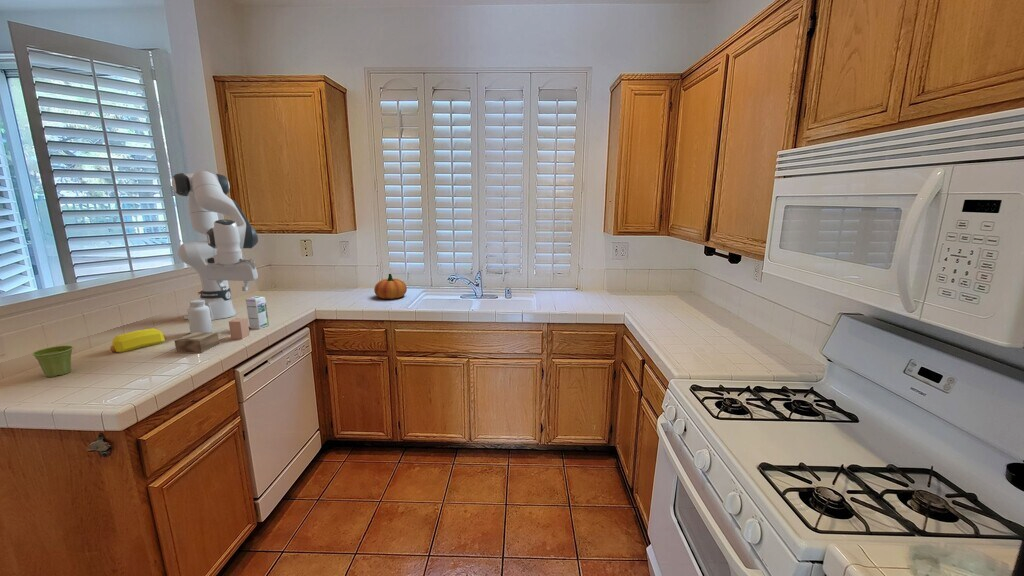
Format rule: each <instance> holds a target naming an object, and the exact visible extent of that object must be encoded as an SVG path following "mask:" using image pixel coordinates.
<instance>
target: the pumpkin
mask: <svg viewBox="0 0 1024 576" xmlns="http://www.w3.org/2000/svg"><path fill="white" fill-rule="evenodd" d="M373 290H374V291H373V292H374V294H375V295H376V297H378V298H380V299H383V300H393V299H399V298H402V297H404V296H405V295H406V293H407V290H408V286H407V284H406V283H405V282H404V281H403V280H401V279H399V278H393V276H392V273H388V278H383V279H381V280H379V281H378V282H377V283H376V284H375V286H374V289H373Z"/></svg>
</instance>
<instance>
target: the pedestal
mask: <svg viewBox="0 0 1024 576" xmlns="http://www.w3.org/2000/svg"><path fill="white" fill-rule="evenodd" d="M218 344H219V345H220V340H219V333H218V332H211V333H200V332H194V333H191V332H190V333H188V334H186V335H184V336H182V337H180V338H177V339H175V340H174V345H175V346H174V347H175V352H176V353H179V354H180V353H183V354H184V353H185V354H189V353H190V354H192V353H193V354H194V353H200V354H202V353H204V352H206V351H208V350H210V348H211V349H213V348H214V346H215V347H216V345H217V346H219V345H218ZM212 347H213V348H212Z"/></svg>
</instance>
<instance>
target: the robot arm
mask: <svg viewBox="0 0 1024 576" xmlns="http://www.w3.org/2000/svg"><path fill="white" fill-rule="evenodd" d="M171 186H172V187H171V188H172V190H174V192H175V193H176V195H178V196H181V197H188V210H189V211H188V212H189V216H190V221H191V226H192V229H193V230H194V231H195V232H197V233H199V234H202V235H204V236H205V235H206V238H207V240H200V241H199V240H198V241H189V242H186V243H182V244H181V245H180V246H178V249H177V256H178V258H179V259H180V261H181V262H183V263H184V264H186V265H189V266H190V267H191V268H193V269H194V270H195V271H196V273H197V274H198V276H199V279H200V282H201V287H202V290H200V291H198V292H197V295H198V296H199V295H200V296H199V298H198V299H197V300H205V306H208V307H209V310H210V317H211V321H214V320H215V321H216V320H221V319H226V318H230V317H234V316H237V312H236V310H235V307H234V305H233V301H232V291H231V288H230V284H229V281H231V282H233V281H235V282H236V281H239V282H240V281H243V284H244V286H242V287H241V289H242V291H243V292H247V291H248V290H249V285H250V283H251V282H253V281H256V280H258V278H259V273H258V270H257V269H258V268H257V267H256V262H255V261H254V260H253V259H252V258H243V250H242V249H253V248H254V247H255V246H257V244H258V243H259V236H258V234H257V231H256V229H255V228H254V227H253V226H252V225H251V223H250V221H249V220H248V218H247V217H246V215H245V213H244V212H243V211H242V209H241V207H240V205H238V202H237V201H236V200H234V199H231V198H230V197H229V196H228V195H227V194H229V192H230V189H231V187H230V181H229V180H228V178H227V177H226V175H223V174H220V173H212V172H210V171H207V170H199V171H196V172H193V173H192V172H190V173H189V172H188V173H183V172H181V173H179V172H178V173H175V174H174V175H173V176H172V179H171ZM219 214H222V215H226V216H228V217H230V218H232V219H219ZM190 307H191V306H190V305H189V307H188V308H190ZM183 319H184V320H189V319H188V314H186V315H184V316H183Z"/></svg>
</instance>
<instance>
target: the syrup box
mask: <svg viewBox="0 0 1024 576" xmlns="http://www.w3.org/2000/svg"><path fill="white" fill-rule="evenodd" d="M245 303H246V304H245V305H246V313H247V318H248V325H249V329H254V328H256V330H257V329H259V330H260V329H264V328H266V327H268V326H270V324H269V317H268V311H267V309H268V308H267V301H266V297H265V296H263V295H262V296H261V295H257V296H256V295H255V296H252V297H249V298H246V299H245Z"/></svg>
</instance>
